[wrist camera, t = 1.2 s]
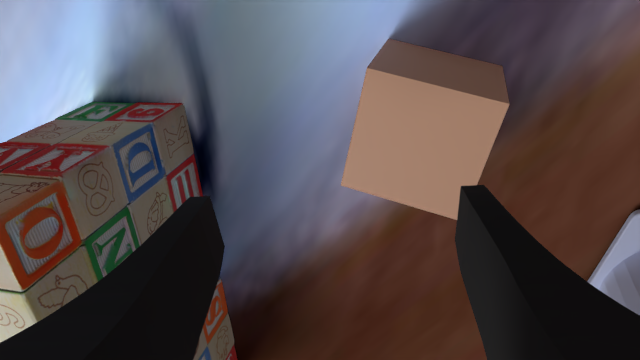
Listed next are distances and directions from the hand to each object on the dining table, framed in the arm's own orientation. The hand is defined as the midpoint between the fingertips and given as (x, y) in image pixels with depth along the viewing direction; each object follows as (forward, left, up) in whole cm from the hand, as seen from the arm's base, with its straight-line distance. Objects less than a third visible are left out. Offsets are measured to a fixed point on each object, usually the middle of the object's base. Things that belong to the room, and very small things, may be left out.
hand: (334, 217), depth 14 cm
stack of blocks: (+11, +14, -10) cm, 21 cm away
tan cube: (-2, 0, -10) cm, 10 cm away
